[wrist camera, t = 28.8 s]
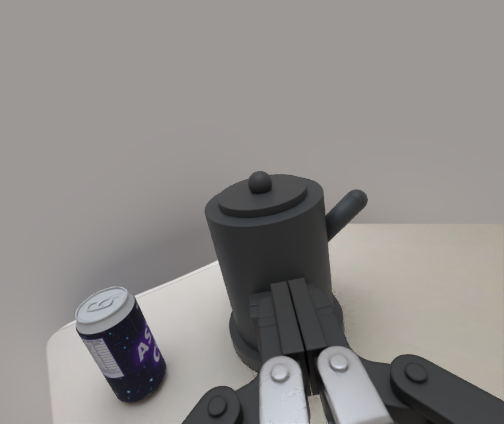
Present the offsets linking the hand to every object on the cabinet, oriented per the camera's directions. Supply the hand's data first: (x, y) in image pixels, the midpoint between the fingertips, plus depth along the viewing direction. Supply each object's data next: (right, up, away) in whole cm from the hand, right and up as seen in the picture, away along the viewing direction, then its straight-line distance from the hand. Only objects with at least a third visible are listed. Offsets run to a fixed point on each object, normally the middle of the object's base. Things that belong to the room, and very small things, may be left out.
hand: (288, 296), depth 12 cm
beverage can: (-14, -16, +20) cm, 30 cm away
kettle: (+4, -10, +24) cm, 27 cm away
